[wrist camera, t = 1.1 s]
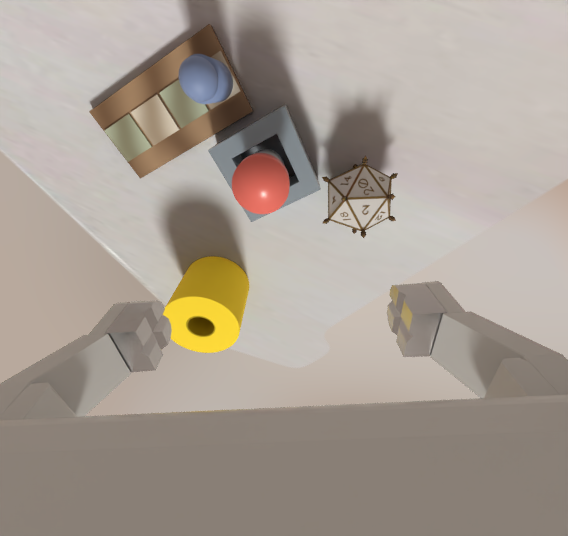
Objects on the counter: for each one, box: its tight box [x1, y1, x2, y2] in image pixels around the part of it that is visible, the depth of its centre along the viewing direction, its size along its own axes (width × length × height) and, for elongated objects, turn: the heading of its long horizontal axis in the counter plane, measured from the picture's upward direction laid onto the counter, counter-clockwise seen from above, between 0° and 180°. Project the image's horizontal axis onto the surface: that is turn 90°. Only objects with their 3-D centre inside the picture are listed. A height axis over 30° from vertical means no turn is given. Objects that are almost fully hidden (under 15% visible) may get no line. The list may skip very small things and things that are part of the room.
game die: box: [322, 156, 398, 238], centre depth 31 cm, size 9×8×10 cm
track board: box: [90, 24, 253, 178], centre depth 30 cm, size 16×8×1 cm, turn 117°
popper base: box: [208, 104, 320, 222], centre depth 31 cm, size 9×9×4 cm
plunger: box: [232, 149, 290, 214], centre depth 28 cm, size 5×5×7 cm
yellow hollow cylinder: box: [163, 256, 249, 353], centre depth 39 cm, size 10×10×9 cm
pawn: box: [179, 54, 233, 104], centre depth 25 cm, size 4×4×7 cm
